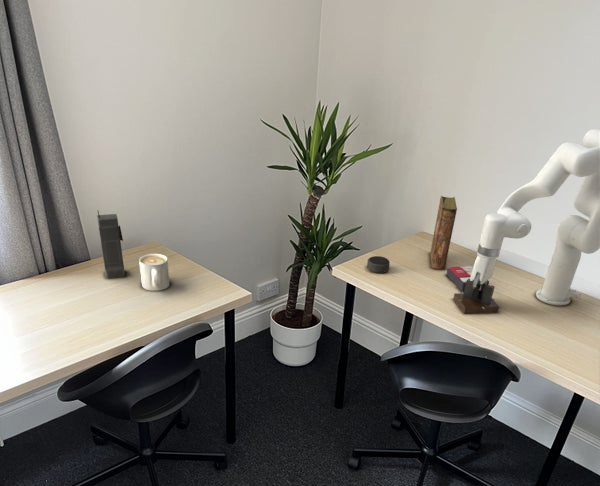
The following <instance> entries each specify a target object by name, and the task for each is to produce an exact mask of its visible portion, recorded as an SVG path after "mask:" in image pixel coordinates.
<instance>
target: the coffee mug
mask: <svg viewBox="0 0 600 486" xmlns="http://www.w3.org/2000/svg"><path fill="white" fill-rule="evenodd" d="M138 264H139V271H140V279H141V286H142V288H143V289H144V290H148V291H151V292H153V291H154V292H156V291H164V290H165V289H167V288H169V287H170V274H169V263H168V257H167V256H166V255H164V254H161V253H147V254H145V255H142V256H140V257H139V258H138Z"/></svg>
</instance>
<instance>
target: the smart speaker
mask: <svg viewBox="0 0 600 486" xmlns="http://www.w3.org/2000/svg"><path fill="white" fill-rule="evenodd" d="M366 268H367V269H368V270H369V271H370V272H371V273H377V274H384V273H386V272H388V271H389V270H390V260H389V259H388V258H386V257H384V256H380V255H374V256H371V257H369V258H367V263H366Z"/></svg>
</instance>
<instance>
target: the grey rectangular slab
mask: <svg viewBox="0 0 600 486" xmlns="http://www.w3.org/2000/svg"><path fill="white" fill-rule="evenodd" d="M474 281H475V280H473V281H470V279H468V280H467V281H466V285H465V290H464V291H463V293H464V294H463V297H466V298H469V299H472V298H471V296H472V292H473V284H474ZM478 285H480V284H478ZM495 289H496V287H495V286H494V285H490V284H488V285H487V284H484V283H483V286H482V294H481V298H480V300H479V301H478V300H475V299H472V300H475V301H478V302H481V303H484V304H487V305H489V304H490V303H491V299H493V295H494V291H495Z"/></svg>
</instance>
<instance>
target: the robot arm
mask: <svg viewBox="0 0 600 486" xmlns="http://www.w3.org/2000/svg"><path fill="white" fill-rule="evenodd" d="M570 175H573V176H575V177H578V178H583V177H584V178H583V180H582V183H581V185H580V187H579V188H578V189H579V190H578V192H577V194H576V196H575V199H574V202H573V206H574V209H575V210H576V211H577V212H578V213H580V214H582V215H583V216H585V217H587V218H588V219H587V218H585V217H583V216H581V215H578V214H570V215H567V216H565V217H564V218H563V219H562V220H561V221H560V223H559V224H558V227H557V232H556V239H555V240H556V241H555V246H554V249H553V253H552V255H551V259H550V261H549V265H548V268H547V271H546V275H545V277H544V281H543V285H542V288H539V289H537V290H536V292H535V296H536V299H538V300H539V301H541V302H542V303H544V304H548V305H552V306H566V305H568V304H570V303H571V300H572V298H579V299H580V298H581V297H582V292H580V291H577V289H571V288H572V287H571V286H572V284H573V281H574V278H575V275H576V273H577V269H578V266H579V263H580V262H581V257H582V253H583V254H587V255H590V254H594V253H596V252H597V251H599V250H600V128H592V129H590V130H588V131H586V133H585V135H584V136H583V139H582V143H581V144H579V143H577V142H573V141H566V142H563V143H561V144H560V145H559V146H558V147H557V149H556V150H555V151H554V152H553V154H552V155H551V156H550V158H549V159H548V160H547V161H546V163H545V164H544V165H543V167H542V168H541V169H540V171H538V173H537V174H536V176H535V177H534V178H533V179H532V180H531V181H529V182H527V183H526V184H524V185H522V186H521V187H519V188H517V189H516V190H514V191H513V192H511V194H509V195H508V197H506V199H505V200H504V202H503V203H502V204H501V205H500V207H499V208H498V209H497V212H491V213H488V214H487V215H485V218H484V220H483V225H482V230H481V234H480V238H479V241H478V242H479V243H478V247H477V250H476V254H477V255H476V258H475V261H474V264H473V266H472V267H473V270H472V274H471V277H470V281H473V280H474V279H475V281H474V284H473V292H472V296H471V298H472V299H475V300H478V301H479V300H480V298H481V294H482V286H483V283H484V284H487V281H489V280H490V279H491V278H492V277H493V274H494V271H495V267H496V264H497V263H496V262H497V258H499V257H500V254H501V250H502V245H503V243H504V238H508V239H515V240H517V239H518V240H519V239H523V238H525V237H527V236H528V235H529V234H530V233H531V230H532V223H531V221H530V220H529V218H527V217H526V216H524V215H523V214H522V213H520V212H519V211H520V210H521V209H522V208H523V207H524V206H525V205H526V204H528V203H529V202H531V201H533V200H536V199H543V198H550V197H553V196H555V195H556V193H557V192H558V190H559V189H560V188H561V187H562V185H563V184H564V183H565V181H566V180H567V179H568V178H569V177H570ZM478 284H480V285H478Z"/></svg>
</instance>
